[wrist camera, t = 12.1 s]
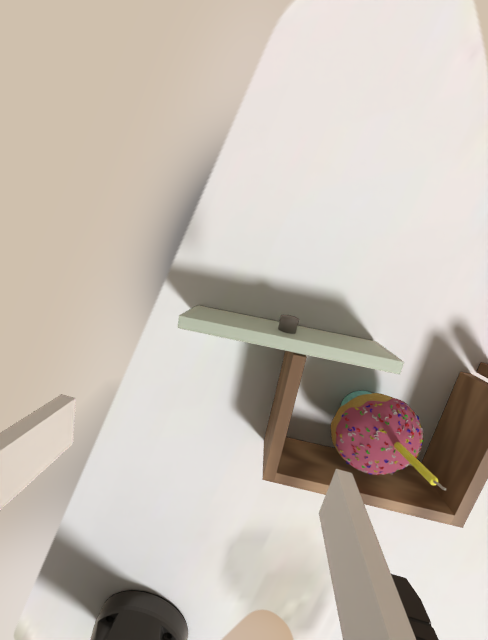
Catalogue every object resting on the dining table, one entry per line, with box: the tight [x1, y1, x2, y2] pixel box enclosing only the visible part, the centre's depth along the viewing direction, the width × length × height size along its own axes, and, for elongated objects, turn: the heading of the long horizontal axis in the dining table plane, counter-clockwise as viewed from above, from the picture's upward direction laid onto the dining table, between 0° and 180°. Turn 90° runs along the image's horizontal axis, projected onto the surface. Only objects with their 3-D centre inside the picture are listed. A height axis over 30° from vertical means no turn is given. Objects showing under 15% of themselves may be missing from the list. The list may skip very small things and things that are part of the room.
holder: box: [263, 351, 488, 528], centre depth 27 cm, size 22×16×6 cm
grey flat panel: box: [178, 305, 404, 374], centre depth 25 cm, size 20×3×6 cm, turn 79°
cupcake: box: [331, 391, 446, 490], centre depth 24 cm, size 9×8×12 cm
